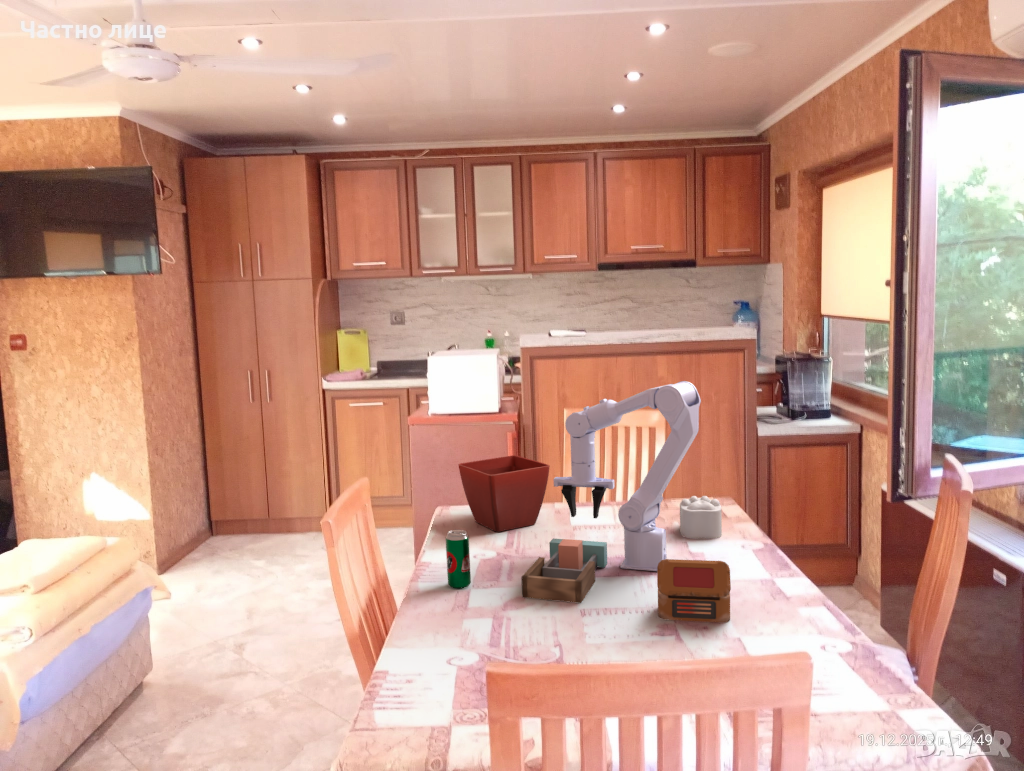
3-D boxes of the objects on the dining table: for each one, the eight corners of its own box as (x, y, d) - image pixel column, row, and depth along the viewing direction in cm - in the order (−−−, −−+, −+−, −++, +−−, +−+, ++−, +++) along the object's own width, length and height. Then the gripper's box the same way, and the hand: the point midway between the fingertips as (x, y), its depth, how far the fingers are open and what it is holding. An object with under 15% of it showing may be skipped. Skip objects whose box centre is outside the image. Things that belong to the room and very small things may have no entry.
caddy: (595, 581, 167) (594, 561, 167) (581, 603, 156) (580, 581, 155) (540, 576, 172) (539, 557, 171) (522, 597, 160) (521, 576, 160)
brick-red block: (578, 572, 170) (578, 546, 169) (559, 571, 171) (558, 545, 170) (583, 565, 174) (582, 540, 173) (563, 564, 175) (563, 539, 174)
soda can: (467, 590, 165) (465, 536, 164) (445, 589, 166) (442, 535, 165) (473, 581, 170) (471, 529, 169) (451, 580, 171) (449, 528, 170)
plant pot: (517, 509, 226) (514, 454, 224) (553, 525, 210) (551, 464, 208) (459, 521, 216) (456, 463, 215) (492, 538, 200) (490, 475, 198)
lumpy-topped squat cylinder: (681, 538, 194) (681, 505, 193) (678, 523, 207) (678, 492, 206) (723, 539, 192) (723, 505, 191) (718, 523, 205) (717, 492, 204)
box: (760, 591, 159) (760, 537, 158) (778, 653, 132) (779, 588, 131) (625, 586, 165) (624, 533, 164) (615, 644, 138) (614, 581, 137)
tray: (607, 563, 178) (606, 542, 177) (592, 585, 165) (592, 562, 164) (553, 558, 182) (553, 538, 182) (535, 580, 169) (534, 558, 168)
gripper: (616, 458, 184) (617, 513, 185) (558, 456, 189) (560, 510, 190) (610, 464, 177) (611, 521, 179) (550, 462, 182) (552, 518, 184)
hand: (584, 516), depth 184 cm, fingers open, 5 cm apart
